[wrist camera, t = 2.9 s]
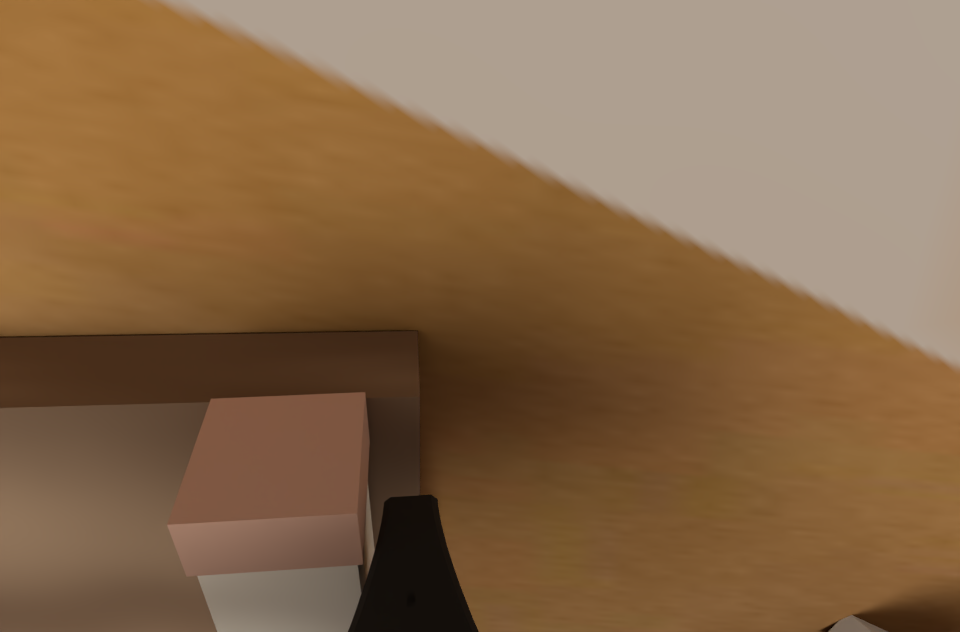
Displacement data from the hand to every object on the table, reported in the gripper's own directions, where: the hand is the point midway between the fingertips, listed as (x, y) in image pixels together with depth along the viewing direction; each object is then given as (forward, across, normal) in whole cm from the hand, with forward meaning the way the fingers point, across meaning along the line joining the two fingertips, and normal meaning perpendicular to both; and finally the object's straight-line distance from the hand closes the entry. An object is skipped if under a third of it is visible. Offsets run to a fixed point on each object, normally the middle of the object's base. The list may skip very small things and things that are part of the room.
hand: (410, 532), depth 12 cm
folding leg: (+1, +2, +4) cm, 5 cm away
